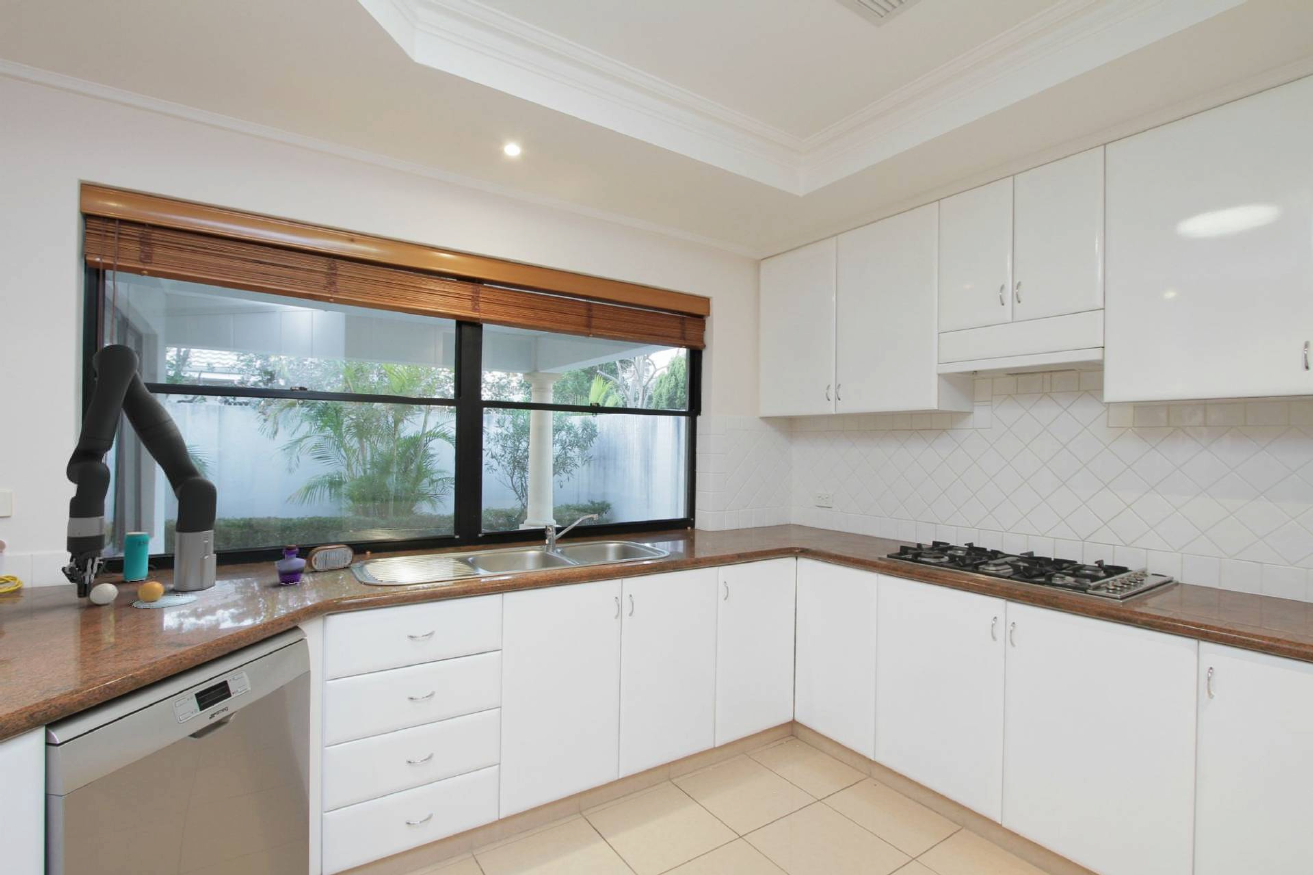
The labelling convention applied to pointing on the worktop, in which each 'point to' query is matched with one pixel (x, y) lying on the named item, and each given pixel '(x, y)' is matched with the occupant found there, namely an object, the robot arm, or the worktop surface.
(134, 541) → the beverage can
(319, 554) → the tin
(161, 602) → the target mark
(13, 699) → the worktop surface
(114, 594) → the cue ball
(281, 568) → the potion bottle
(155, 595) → the orange ball
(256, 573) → the worktop surface
